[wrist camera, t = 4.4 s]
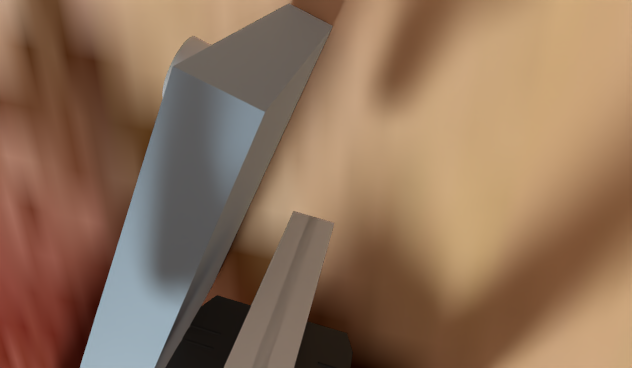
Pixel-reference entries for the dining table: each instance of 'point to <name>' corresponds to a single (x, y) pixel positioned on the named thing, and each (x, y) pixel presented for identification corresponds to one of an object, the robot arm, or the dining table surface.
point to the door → (199, 181)
